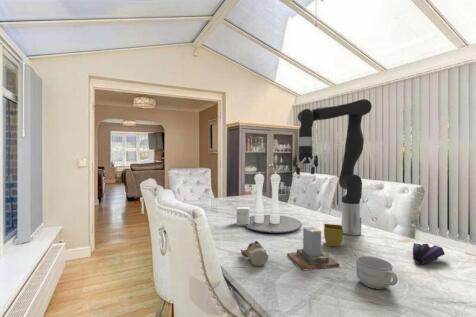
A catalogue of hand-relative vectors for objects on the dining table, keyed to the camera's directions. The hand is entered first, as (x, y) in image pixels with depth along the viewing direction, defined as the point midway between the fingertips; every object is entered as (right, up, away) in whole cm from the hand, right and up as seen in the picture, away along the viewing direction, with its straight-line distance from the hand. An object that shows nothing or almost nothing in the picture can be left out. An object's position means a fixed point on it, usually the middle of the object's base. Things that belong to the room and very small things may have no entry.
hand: (305, 174), depth 136 cm
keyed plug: (-7, -33, -35) cm, 48 cm away
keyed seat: (-7, -34, -35) cm, 49 cm away
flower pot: (+9, -34, -17) cm, 39 cm away
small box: (-34, -33, +19) cm, 51 cm away
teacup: (+9, -34, -55) cm, 65 cm away
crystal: (+42, -34, -33) cm, 63 cm away
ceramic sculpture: (-30, -34, -35) cm, 57 cm away
